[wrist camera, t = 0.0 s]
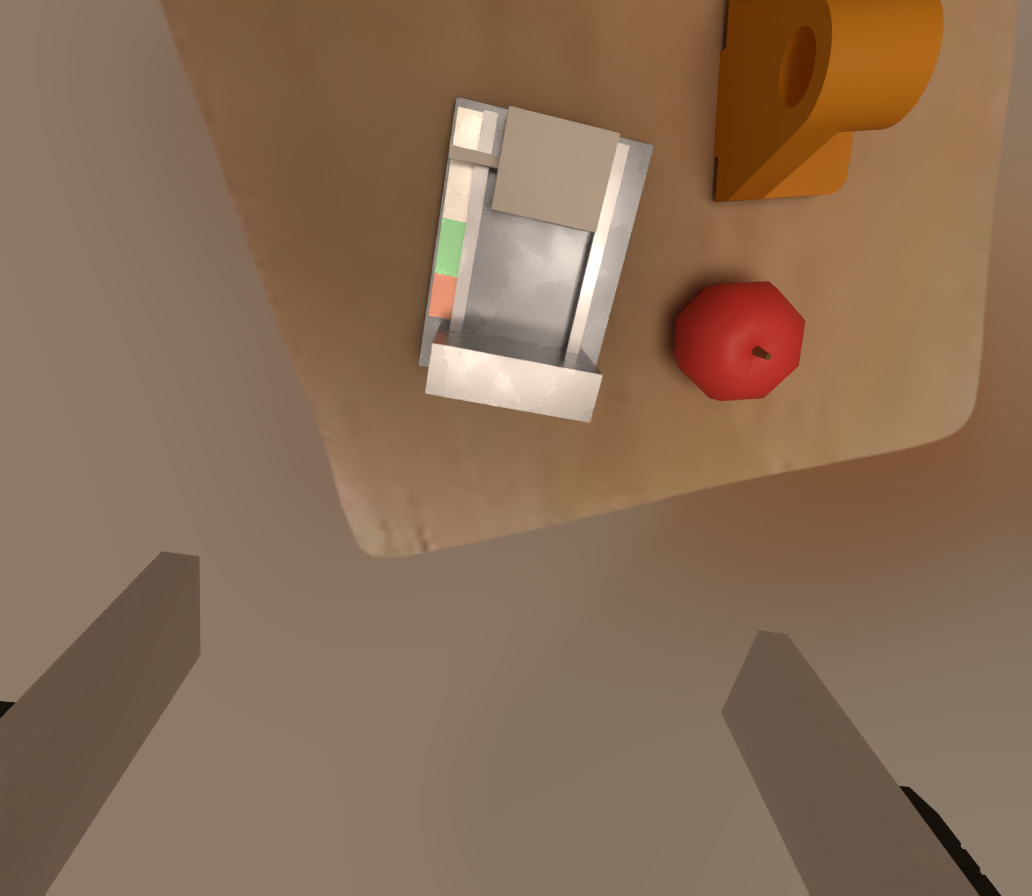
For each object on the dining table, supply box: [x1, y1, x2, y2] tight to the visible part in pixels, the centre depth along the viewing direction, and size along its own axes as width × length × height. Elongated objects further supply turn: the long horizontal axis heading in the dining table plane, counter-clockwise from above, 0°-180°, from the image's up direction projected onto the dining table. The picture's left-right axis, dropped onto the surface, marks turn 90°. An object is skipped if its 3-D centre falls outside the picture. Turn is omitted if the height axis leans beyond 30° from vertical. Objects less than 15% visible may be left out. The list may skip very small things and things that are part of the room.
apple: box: [674, 281, 805, 401], centre depth 35 cm, size 8×8×8 cm
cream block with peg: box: [449, 106, 620, 232], centre depth 31 cm, size 5×9×4 cm, turn 78°
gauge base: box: [419, 97, 654, 423], centre depth 33 cm, size 16×12×7 cm
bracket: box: [714, 0, 943, 202], centre depth 28 cm, size 11×7×12 cm, turn 4°
